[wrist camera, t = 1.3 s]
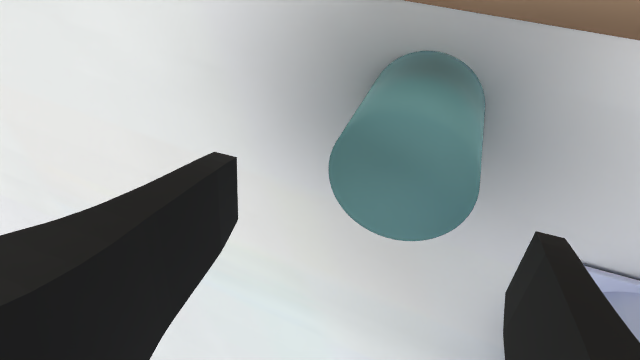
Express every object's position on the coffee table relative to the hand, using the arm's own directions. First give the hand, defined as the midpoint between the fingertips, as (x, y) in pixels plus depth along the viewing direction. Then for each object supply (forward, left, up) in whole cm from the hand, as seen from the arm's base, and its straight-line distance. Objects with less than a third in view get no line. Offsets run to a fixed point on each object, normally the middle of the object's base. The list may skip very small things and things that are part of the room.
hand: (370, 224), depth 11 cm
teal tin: (-1, 0, -11) cm, 11 cm away
